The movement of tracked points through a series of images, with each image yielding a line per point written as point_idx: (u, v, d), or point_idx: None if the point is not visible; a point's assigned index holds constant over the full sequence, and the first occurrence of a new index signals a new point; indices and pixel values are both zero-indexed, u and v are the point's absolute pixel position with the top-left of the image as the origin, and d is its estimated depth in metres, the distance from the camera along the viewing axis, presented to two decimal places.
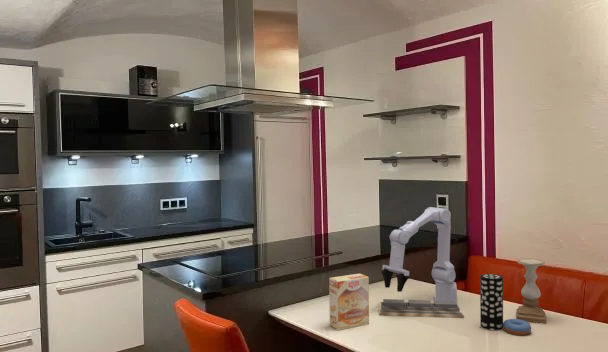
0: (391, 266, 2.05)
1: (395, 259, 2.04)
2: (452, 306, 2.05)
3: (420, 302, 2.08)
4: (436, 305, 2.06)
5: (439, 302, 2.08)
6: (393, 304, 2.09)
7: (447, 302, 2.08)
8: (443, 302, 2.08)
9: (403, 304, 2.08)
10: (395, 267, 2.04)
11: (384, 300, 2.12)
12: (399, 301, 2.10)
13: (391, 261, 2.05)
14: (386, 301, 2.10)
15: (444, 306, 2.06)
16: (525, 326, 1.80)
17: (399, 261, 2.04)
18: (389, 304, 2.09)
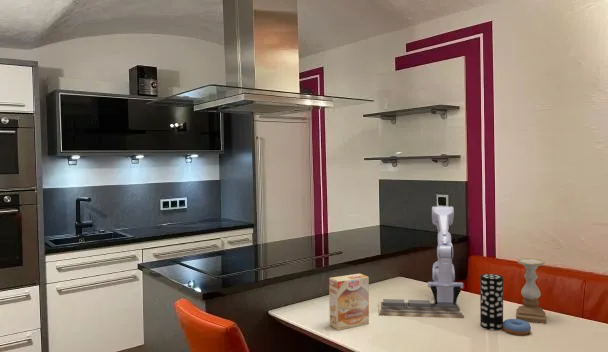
0: (446, 283, 2.05)
1: (449, 275, 2.05)
2: (452, 307, 2.05)
3: (420, 302, 2.08)
4: (436, 306, 2.06)
5: (439, 303, 2.08)
6: (393, 304, 2.09)
7: (447, 303, 2.08)
8: (443, 303, 2.08)
9: (403, 304, 2.08)
10: (450, 282, 2.05)
11: (384, 300, 2.12)
12: (399, 301, 2.10)
13: (445, 278, 2.05)
14: (386, 301, 2.10)
15: (444, 307, 2.06)
16: (525, 326, 1.80)
17: (451, 276, 2.06)
18: (389, 304, 2.09)
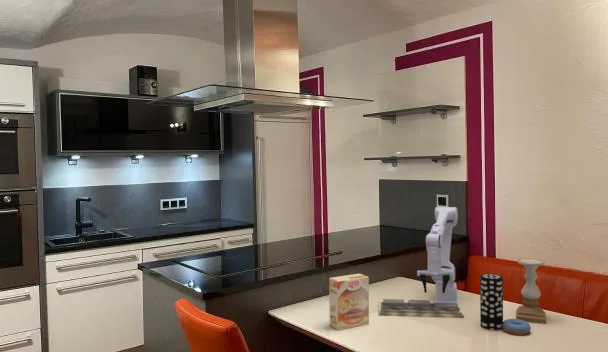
0: (435, 271, 2.05)
1: (439, 263, 2.05)
2: None
3: (420, 302, 2.08)
4: None
5: (439, 305, 2.08)
6: (393, 304, 2.09)
7: (447, 305, 2.08)
8: (443, 305, 2.08)
9: (403, 304, 2.08)
10: (439, 271, 2.06)
11: (384, 300, 2.12)
12: (399, 301, 2.10)
13: (434, 266, 2.05)
14: (386, 301, 2.10)
15: None
16: (524, 326, 1.80)
17: (441, 264, 2.07)
18: (389, 304, 2.09)
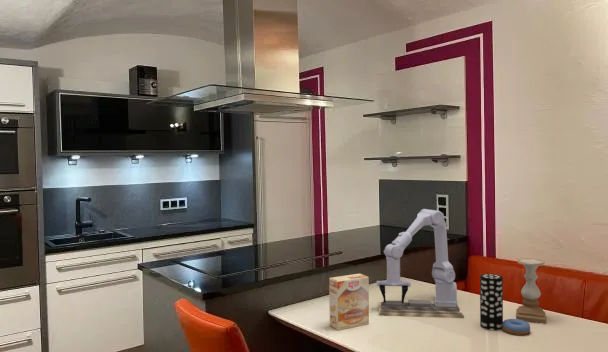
0: (394, 281, 2.08)
1: (397, 274, 2.08)
2: None
3: (420, 302, 2.08)
4: None
5: (439, 305, 2.08)
6: (393, 305, 2.09)
7: (447, 305, 2.08)
8: (443, 305, 2.08)
9: (403, 305, 2.08)
10: (398, 281, 2.08)
11: None
12: (399, 302, 2.10)
13: (393, 277, 2.08)
14: (386, 302, 2.10)
15: None
16: (524, 326, 1.80)
17: (399, 274, 2.09)
18: (389, 305, 2.09)
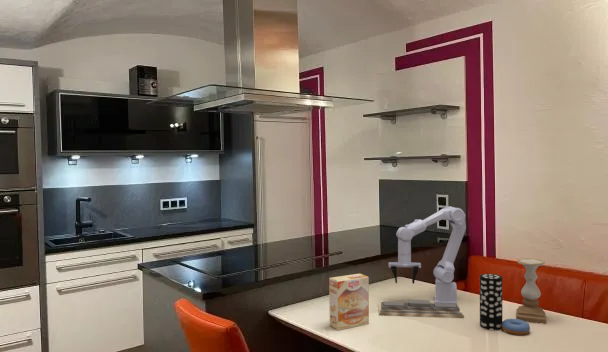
0: (405, 263, 2.18)
1: (408, 255, 2.18)
2: None
3: (420, 302, 2.08)
4: None
5: (439, 305, 2.08)
6: None
7: (447, 305, 2.08)
8: (443, 305, 2.08)
9: (403, 306, 2.08)
10: (409, 262, 2.18)
11: (384, 302, 2.12)
12: (399, 304, 2.10)
13: (404, 258, 2.18)
14: (386, 303, 2.10)
15: None
16: (524, 326, 1.80)
17: (410, 256, 2.19)
18: None
